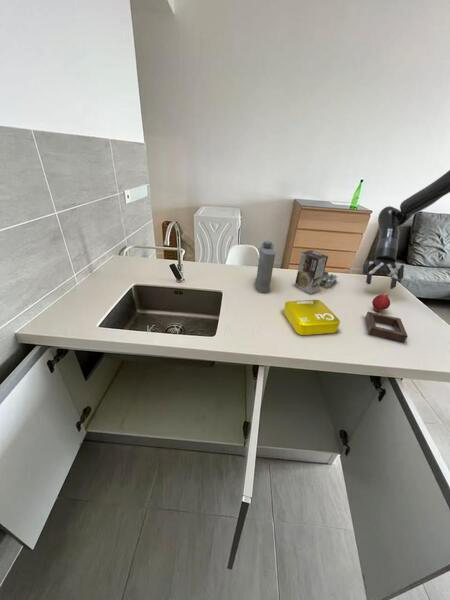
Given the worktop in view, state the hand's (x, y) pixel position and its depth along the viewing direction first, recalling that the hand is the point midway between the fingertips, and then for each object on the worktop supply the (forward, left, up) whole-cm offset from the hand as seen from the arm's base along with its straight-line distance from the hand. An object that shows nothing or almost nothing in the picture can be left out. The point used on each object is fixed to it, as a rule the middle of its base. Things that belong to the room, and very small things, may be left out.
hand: (380, 286), depth 100 cm
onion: (0, +9, -7) cm, 11 cm away
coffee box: (+28, +2, -7) cm, 29 cm away
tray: (0, +22, -7) cm, 23 cm away
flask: (+47, +8, -7) cm, 48 cm away
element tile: (+25, +28, -7) cm, 38 cm away
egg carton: (+20, -8, -7) cm, 23 cm away
